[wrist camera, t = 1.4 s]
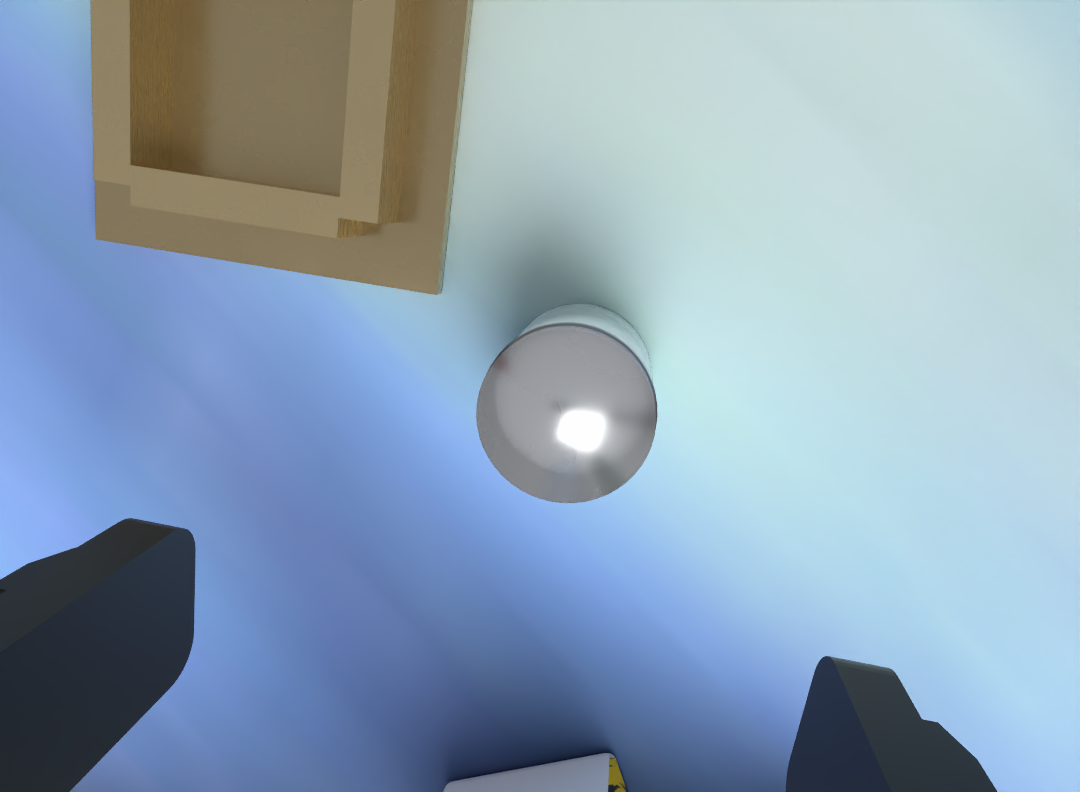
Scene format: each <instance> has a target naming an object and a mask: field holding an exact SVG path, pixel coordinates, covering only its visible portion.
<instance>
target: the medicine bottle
mask: <svg viewBox="0 0 1080 792" xmlns="http://www.w3.org/2000/svg"><path fill="white" fill-rule="evenodd" d="M443 792H627V790H626V787H625V784H624V781H623V778H622V775H621V772H620V769H619V767H618V764H617V761H616V758H615V757H614V755H612V754H610V753H602V754H597V755H591V756H586V757H580V758H575V759H570V760H564V761H559V762H553V763H548V764H543V765H537V766H532V767H527V768H521V769H516V770H510V771H505V772H500V773H494V774H489V775H483V776H478V777H473V778H467V779H462V780H457V781H451V782H449V783H448V784H447V785H446V787H445V789H444V791H443Z"/></svg>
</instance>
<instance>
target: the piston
mask: <svg viewBox="0 0 1080 792" xmlns="http://www.w3.org/2000/svg"><path fill="white" fill-rule="evenodd" d="M476 417H477V427H478V432H479V437H480V440H481V443H482V445H483V448H484V450H485V452H486V454H487V456H488V458H489V459H490V461H491V462H492V464H493V465H494V467H495V468H496V469H497V470H498V471H499V472H500V474H501V475H502V476H503V477H504V478H506V479H507V480H508V481H509V482H510V483H511V484H513V485H514V486H516V487H517V488H519V489H520V490H522V491H524V492H526V493H528V494H529V495H532V496H535V497H537V498H540V499H543V500H547V501H552V502H560V503H578V502H586V501H590V500H594V499H597V498H600V497H602V496H605V495H607V494H609V493H611V492H613V491H615V490H616V489H618V488H619V487H621V486H622V485H623V484H625V483H626V482H627V481H628V480H629V479H630V478H631V477H632V476H634V475H635V473H636V472H637V471H638V470H639V468H640V467H641V466H642V464H643V462H644V461H645V459H646V457H647V455H648V453H649V451H650V448H651V446H652V442H653V439H654V435H655V429H656V422H657V401H656V394H655V389H654V386H653V380H652V371H651V364H650V358H649V355H648V351H647V349H646V347H645V344H644V342H643V340H642V339H641V337H640V336H639V334H638V333H637V331H636V330H635V329H634V328H633V327H632V326H631V325H630V324H629V323H628V322H627V321H626V320H625V319H623V318H622V317H621V316H619V315H618V314H616V313H614V312H612V311H610V310H608V309H605V308H602V307H600V306H595V305H591V304H569V305H563V306H560V307H556V308H553V309H551V310H549V311H547V312H545V313H543V314H542V315H540V316H538V317H537V318H536V319H535V320H533V321H532V322H531V323H530V324H529V325H528V326H527V327H526V328H525V329H524V330H523V332H522V333H521V334H520V335H519V336H518V337H517V338H516V339H515V340H513V341H512V342H511V343H510V344H509V345H507V346H506V347H505V348H504V350H503V351H502V352H501V353H500V354H499V355H498V356H497V357H496V359H495V360H494V362H493V363H492V365H491V366H490V368H489V370H488V372H487V374H486V376H485V378H484V380H483V383H482V386H481V388H480V391H479V396H478V401H477V412H476Z"/></svg>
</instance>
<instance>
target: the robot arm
mask: <svg viewBox="0 0 1080 792" xmlns="http://www.w3.org/2000/svg"><path fill="white" fill-rule="evenodd" d="M194 597H195V541H194V538H193V535H192V534H191V532H190V531H189V530H187V529H184V528H179V527H174V526H169V525H164V524H159V523H153V522H148V521H143V520H138V519H133V518H128V519H124V520H122V521H120V522H118V523H117V524H115V525H113V526H112V527H110V528H108V529H107V530H105V531H104V532H102V533H100V534H99V535H97V536H95V537H94V538H92V539H90V540H89V541H87V542H85V543H84V544H82V545H80V546H79V547H77V548H73V549H70V550H67V551H64V552H61V553H58V554H55V555H52V556H49V557H46V558H43V559H40V560H37V561H34V562H31V563H28V564H26V565H25V566H23V567H21V568H20V569H18V570H16V571H14V572H13V573H11V574H9V575H8V576H6V577H4V578H2V579H1V580H0V792H70V790H71V789H72V788H73V787H74V786H75V785H76V784H77V783H78V782H79V781H80V780H81V779H82V778H83V777H84V776H85V775H86V774H87V773H88V772H89V771H90V770H91V769H92V768H93V767H94V766H95V765H96V764H97V763H98V762H99V761H100V760H101V759H102V758H103V756H104V755H105V754H106V753H107V752H108V751H109V750H110V749H111V748H112V747H113V746H114V745H115V744H116V743H117V742H118V741H119V740H120V739H121V738H122V737H123V736H124V735H125V734H126V733H127V732H128V731H129V730H130V729H131V728H132V727H133V726H134V725H135V724H136V722H137V721H138V720H139V719H140V718H141V717H142V716H143V715H144V714H145V713H146V712H147V711H148V710H149V709H150V708H151V707H152V706H153V705H154V704H155V703H156V702H157V701H158V700H159V699H160V698H161V697H162V696H163V695H164V694H165V693H166V692H167V691H168V690H169V688H170V687H171V686H172V685H173V684H174V683H175V681H176V680H177V679H178V677H179V676H180V674H181V672H182V671H183V669H184V667H185V665H186V662H187V660H188V657H189V654H190V651H191V647H192V643H193V636H194ZM786 792H997V790H996V789H995V787H994V786H993V784H992V782H991V781H990V779H989V778H988V776H987V774H986V773H985V771H984V770H983V768H982V766H981V765H980V763H979V762H978V760H977V759H976V758H975V757H974V756H973V755H972V754H971V753H970V752H969V751H968V750H967V749H966V748H964V747H963V746H962V745H961V744H960V743H959V742H958V741H957V740H956V739H955V738H954V737H953V736H952V735H951V734H949V733H948V732H947V731H946V730H945V729H944V728H943V727H942V726H941V725H940V724H939V723H938V722H933V721H928V720H923V719H921V717H920V715H919V713H918V712H917V710H916V708H915V706H914V704H913V703H912V701H911V699H910V697H909V696H908V694H907V692H906V690H905V688H904V687H903V685H902V683H901V681H900V680H899V678H898V676H897V675H896V673H895V672H894V671H893V670H892V669H889V668H885V667H880V666H875V665H870V664H865V663H860V662H855V661H850V660H845V659H840V658H834V657H829V656H825V657H823V658H822V659H821V660H820V661H819V663H818V665H817V667H816V669H815V672H814V676H813V679H812V683H811V686H810V690H809V693H808V697H807V700H806V704H805V708H804V711H803V715H802V718H801V722H800V725H799V729H798V732H797V736H796V740H795V743H794V747H793V750H792V754H791V757H790V761H789V766H788V772H787V782H786Z"/></svg>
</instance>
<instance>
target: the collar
mask: <svg viewBox="0 0 1080 792" xmlns="http://www.w3.org/2000/svg"><path fill="white" fill-rule="evenodd" d="M472 5H473V0H91V51H92V107H93V163H94V180H95V215H96V239H97V240H104V241H110V242H116V243H122V244H128V245H134V246H140V247H146V248H153V249H159V250H165V251H171V252H177V253H183V254H189V255H196V256H202V257H208V258H214V259H220V260H226V261H232V262H239V263H245V264H251V265H257V266H263V267H269V268H275V269H282V270H288V271H294V272H300V273H306V274H312V275H318V276H325V277H331V278H337V279H343V280H349V281H355V282H361V283H368V284H374V285H380V286H386V287H392V288H398V289H404V290H411V291H417V292H423V293H429V294H435V295H438V294H440V293H442V284H443V275H444V265H445V256H446V247H447V238H448V228H449V219H450V210H451V200H452V191H453V182H454V173H455V163H456V154H457V145H458V135H459V126H460V117H461V107H462V98H463V89H464V80H465V70H466V61H467V52H468V42H469V33H470V24H471V15H472Z"/></svg>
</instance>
